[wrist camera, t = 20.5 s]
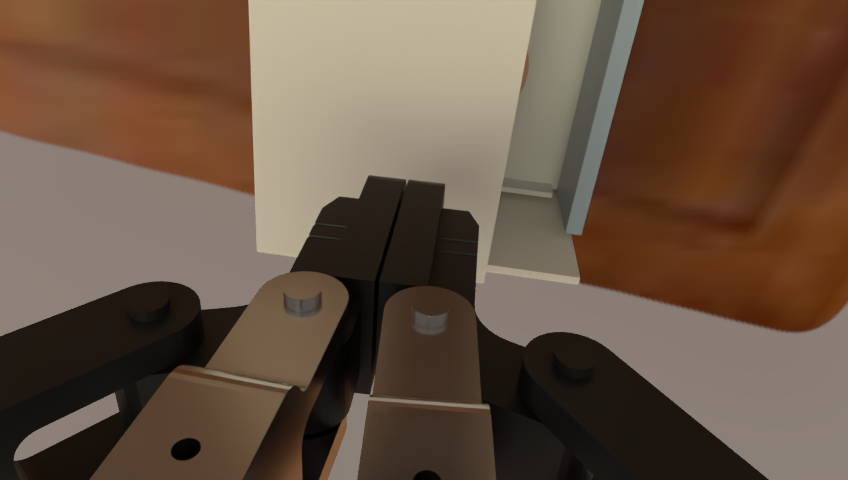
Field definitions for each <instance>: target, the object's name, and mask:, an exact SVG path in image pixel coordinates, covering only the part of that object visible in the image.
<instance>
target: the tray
mask: <svg viewBox="0 0 848 480" xmlns="http://www.w3.org/2000/svg"><path fill="white" fill-rule="evenodd" d="M643 3H644V0H537V1H536V7H535V12H534V17H533V23H532V28H531V33H530V39H529V44H528V55H529V69H528V75H527V79H526V82H525V85H524V87H523V89H522V91H521V93H520V94H519V98H518V103H517V109H516V114H515V119H514V125H513V130H512V136H511V141H510V146H509V152H508V157H507V162H506V168H505V173H504V179H503V184H502V189H501V191H503V192H510V193H517V194H525V195H532V196H539V197H547V198H552V194H553V192H552V189H555V190H557V192H558V198H559V203H560V208H561V213H562V218H563V224H564V229H565V233H568V234H575V235H581V234H582V231H583V227H584V223H585V219H586V216H587V212H588V208H589V204H590V201H591V197H592V193H593V189H594V186H595V182H596V178H597V175H598V171H599V167H600V163H601V160H602V156H603V152H604V148H605V145H606V141H607V137H608V133H609V130H610V126H611V122H612V118H613V115H614V111H615V107H616V104H617V100H618V96H619V92H620V89H621V85H622V81H623V77H624V74H625V70H626V66H627V62H628V59H629V55H630V51H631V48H632V44H633V40H634V36H635V33H636V29H637V25H638V21H639V18H640V14H641V10H642V6H643Z"/></svg>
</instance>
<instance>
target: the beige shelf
mask: <svg viewBox="0 0 848 480" xmlns="http://www.w3.org/2000/svg"><path fill="white" fill-rule="evenodd" d="M536 1H537V0H249V29H250V60H251V90H252V121H253V151H254V182H255V212H256V239H257V241H256V243H257V252H262V253H269V254H276V255H283V256H291V257H298V255H299V253H300V251H301V249H302V247H303V245H304V243H305V241H306V239H307V237H309V233H310V231H311V229H312V227H313V225H315V221H316V219H317V217H318V215H319V213H320V211H321V210H322V208H323V207H324V206H326V205H327V204H329V203H330V202H332V201H333V200H335V199H336V198H338V197H339V196H341V197H349V198H358V199H359V197H360V195H361V192H362V190H363V187H364V185H365V183H366V180H367V178H368V176H369V175H373V176H382V177H391V178H399V179H406V186H407V183H408V180H418V181H427V182H436V183H444V184H445V196H444V205H443V208H446V209H454V210H463V211H469V212H470V213H471V215H472V216H473V217H474V219H475V220H476V222H477V223H478V225H479V238H478V254H477V271H476V283H481V284H484V281H485V275H486V272H489V273H496V274H504V275H511V276H518V277H525V278H532V279H540V280H547V281H554V282H560V283H568V284H575V285H578V284H579V280H580V274H579V270H578V265H577V260H576V255H575V250H574V245H573V241H572V236H571V234H568V233H565V229H564V224H563V218H562V213H561V208H560V203H559V198H558V192H557V190H555V189H552V192H553V194H552V198H547V197H539V196H532V195H525V194H517V193H510V192H503V191H501V189H502V184H503V179H504V173H505V168H506V162H507V157H508V152H509V146H510V141H511V136H512V130H513V125H514V119H515V114H516V109H517V103H518V98H519V93H520V87H521V82H522V76H523V71H524V66H525V60H526V55H527V50H528V44H529V39H530V33H531V28H532V23H533V17H534V12H535V7H536Z"/></svg>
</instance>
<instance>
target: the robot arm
mask: <svg viewBox="0 0 848 480" xmlns="http://www.w3.org/2000/svg"><path fill="white" fill-rule="evenodd" d="M444 196H445V184H444V183H436V182H427V181H418V180H408V183H407V186H406V179H399V178H391V177H382V176H373V175H369V176H368V178H367V180H366V183H365V185H364V187H363V190H362V192H361V195H360V197H359V199H358V198H349V197H341V196H339V197H338V198H336V199H335V200H333V201H332V202H330V203H329V204H327V205H326V206H324V207H323V208H322V210H321V211H320V213H319V215H318V217H317V219H316V221H315V225H313V227H312V229H311V231H310V233H309V237H307V239H306V241H305V243H304V245H303V247H302V249H301V251H300V253H299V255H298V257H297V259H296V261H295V263H294V265H293V267H292V269H291V271H290V273H286V274H283V275H280V276H277V277H275V278H273V279H271V280H270V281H268V282H267V283H265V284H264V285H263V286H262V287H261V289H259V291H258V292H257V294H256V295H255V296H254V298H253V299H252V301H251V302H250V304H249V305H244V306H238V307H230V308H219V309H207V310H201V305H200V299H199V297H198V295H197V294H196V293H195V292H194V291H193V290H192V289H190V288H189V287H187V286H184V285H182V284H178V283H173V282H163V281H160V282H148V283H142V284H138V285H135V286H131V287H128V288H126V289H123V290H120V291H118V292H115V293H112V294H110V295H108V296H105V297H102V298H99V299H97V300H94V301H92V302H89V303H86V304H84V305H81V306H78V307H76V308H74V309H71V310H68V311H65V312H63V313H60V314H58V315H55V316H52V317H50V318H47V319H45V320H42V321H40V322H37V323H34V324H32V325H29V326H26V327H24V328H21V329H18V330H16V331H13V332H11V333H8V334H5V335H3V336H0V480H328V477H329V475H330V472H331V469H332V466H333V464H334V461H335V459H336V456H337V453H338V451H339V448H340V445H341V442H342V440H343V437H344V434H345V431H346V425H347V423H346V421H347V420H346V419H347V414H348V412H349V409H350V406H351V403H352V399H353V395H354V393H362V394H369V395H370V392H371V388H372V384H373V380H374V376H375V380H374V387H373V395H370V397H369V401H368V408H367V414H366V422H365V429H364V436H363V444H362V450H361V457H360V464H359V471H358V479H357V480H768V479H767V478H766V477H765V476H763V475H762V474H761V473H760V472H759V471H757V470H756V469H755V468H754V467H752V466H751V465H750V464H749V463H748V462H746V461H745V460H744V459H743V458H741V457H740V456H739V455H738V454H736V453H735V452H734V451H733V450H732V449H730V448H729V447H728V446H727V445H725V444H724V443H723V442H722V441H721V440H719V439H718V438H717V437H716V436H714V435H713V434H712V433H711V432H709V431H708V430H707V429H706V428H705V427H703V426H702V425H701V424H700V423H698V422H697V421H696V420H694V418H692V417H691V416H690V415H689V414H687V413H686V412H685V411H684V410H682V409H681V408H680V407H679V406H678V405H676V404H675V403H674V402H673V401H671V400H670V399H669V398H668V397H666V396H665V395H664V394H663V393H662V392H660V391H659V390H658V389H657V388H655V387H654V386H653V385H652V384H651V383H649V382H648V381H647V380H646V379H644V378H643V377H642V376H641V375H639V374H638V373H637V372H636V371H635V370H633V369H632V368H631V367H630V366H628V365H627V364H626V363H625V362H624V361H622V360H621V359H620V358H618V357H617V356H616V355H615V354H614V353H613V352H611V351H610V350H609V349H607V348H606V347H605V346H603V345H602V344H600V343H598V342H596V341H595V340H592V339H590V338H588V337H585V336H581V335H578V334H573V333H566V332H553V333H547V334H543V335H540V336H538V337H536V338H534V339H533V340H532V341H530V342H529V343H528V345H527V346H526V347H523V346H521V345H518V344H515V343H512V342H510V341H507V340H505V339H503V338H501V337H499V336H497V335H495V334H494V333H492V332H491V331H490V330H488V329H487V328H486V327H485V326H484V325H483V324H482V323H481V321H480V320H479V318H478V317H477V315H476V312H475V306H474V303H475V287H476V271H477V254H478V238H479V225H478V223H477V222H476V220H475V219H474V217H473V216H472V215H471V213H470V212H469V211H463V210H454V209H446V208H443V205H444ZM114 392H115V395H116V399H117V403H118V407H119V411H120V412H118V413H116V414H114V415H112V416H110V417H109V418H106V419H105V420H102V421H101V422H99V423H96V424H94V425H93V426H91V427H89V428H87V429H85V430H83V431H81V432H79V433H77V434H75V435H73V436H71V437H69V438H67V439H65V440H63V441H61V442H59V443H57V444H55V445H53V446H51V447H49V448H47V449H45V450H43V451H41V452H39V453H37V454H35V455H33V456H31V457H29V458H26V459H23V460H19V461H14V454H15V451H16V449H17V448H18V446H19V444H20V443H21V442H22V441H23V440H24V439H25V438H26V437H27V436H28V435H30V434H31V433H32V432H34V431H36V430H38V429H40V428H42V427H44V426H46V425H48V424H50V423H52V422H54V421H56V420H58V419H60V418H62V417H64V416H67V415H69V414H70V413H73V412H75V411H77V410H79V409H81V408H83V407H85V406H87V405H89V404H91V403H93V402H95V401H97V400H100V399H102V398H104V397H106V396H108V395H110V394H112V393H114Z"/></svg>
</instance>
